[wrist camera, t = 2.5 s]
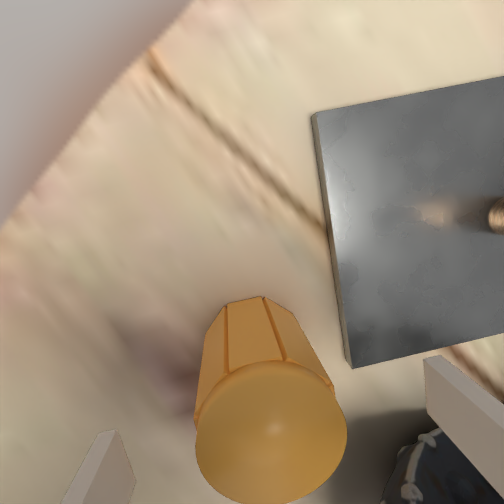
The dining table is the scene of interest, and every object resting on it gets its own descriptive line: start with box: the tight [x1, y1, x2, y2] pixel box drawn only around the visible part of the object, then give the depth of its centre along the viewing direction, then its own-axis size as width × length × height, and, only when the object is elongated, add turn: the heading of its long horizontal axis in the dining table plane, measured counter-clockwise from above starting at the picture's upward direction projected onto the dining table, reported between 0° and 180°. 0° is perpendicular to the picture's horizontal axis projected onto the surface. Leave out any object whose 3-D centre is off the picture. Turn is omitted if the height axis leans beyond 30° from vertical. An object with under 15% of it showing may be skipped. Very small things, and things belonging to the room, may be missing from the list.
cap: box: [194, 296, 347, 504], centre depth 15 cm, size 6×6×8 cm
